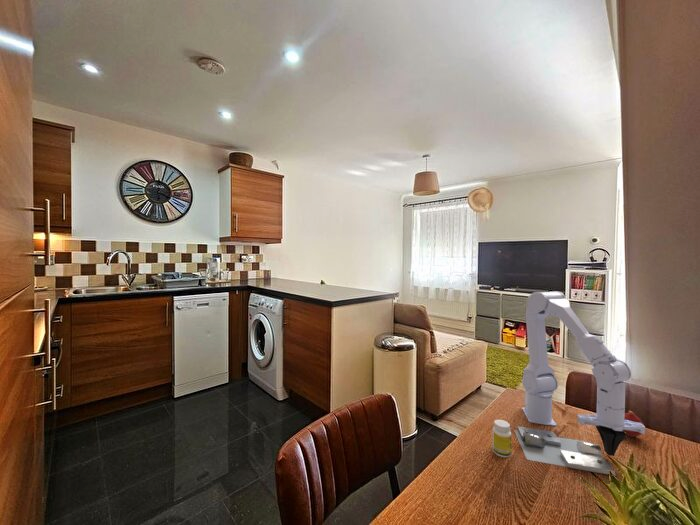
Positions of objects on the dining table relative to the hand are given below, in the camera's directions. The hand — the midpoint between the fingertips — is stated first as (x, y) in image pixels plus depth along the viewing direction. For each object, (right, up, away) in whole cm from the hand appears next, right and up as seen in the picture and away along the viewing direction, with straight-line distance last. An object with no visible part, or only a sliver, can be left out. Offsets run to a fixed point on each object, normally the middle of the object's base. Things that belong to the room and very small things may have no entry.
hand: (609, 453), depth 80 cm
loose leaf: (-8, -1, -1) cm, 8 cm away
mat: (-11, -2, +3) cm, 12 cm away
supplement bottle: (-28, -2, +3) cm, 28 cm away
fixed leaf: (-15, -1, +7) cm, 16 cm away
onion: (+16, -2, +10) cm, 19 cm away
